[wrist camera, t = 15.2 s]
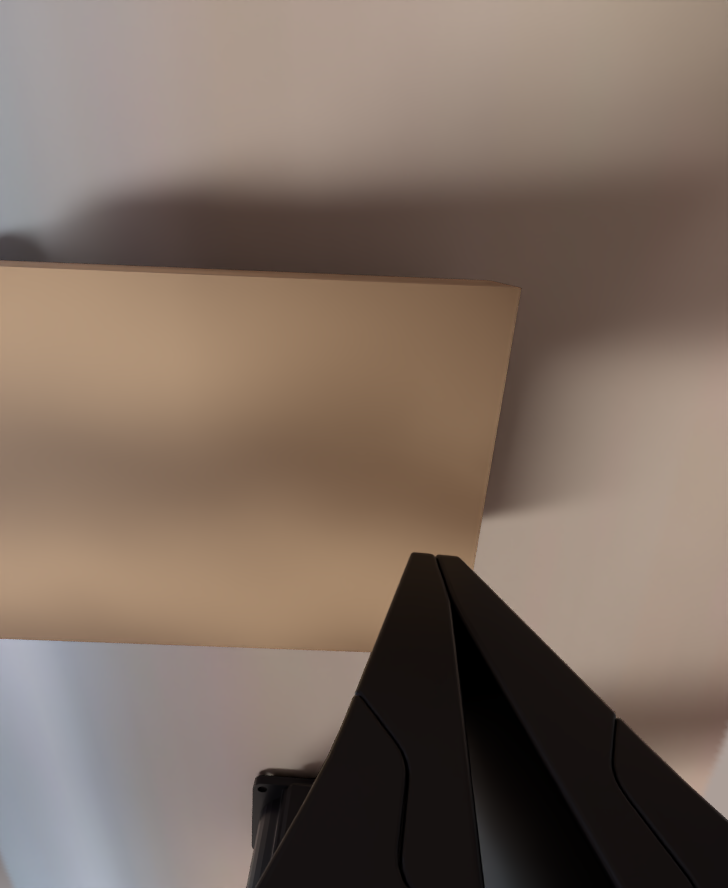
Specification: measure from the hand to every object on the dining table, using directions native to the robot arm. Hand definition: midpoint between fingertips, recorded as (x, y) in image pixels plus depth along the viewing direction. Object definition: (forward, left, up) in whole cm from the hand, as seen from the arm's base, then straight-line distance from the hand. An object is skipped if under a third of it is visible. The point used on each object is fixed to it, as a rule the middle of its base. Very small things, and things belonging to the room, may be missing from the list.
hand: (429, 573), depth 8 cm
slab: (-1, +5, -6) cm, 8 cm away
